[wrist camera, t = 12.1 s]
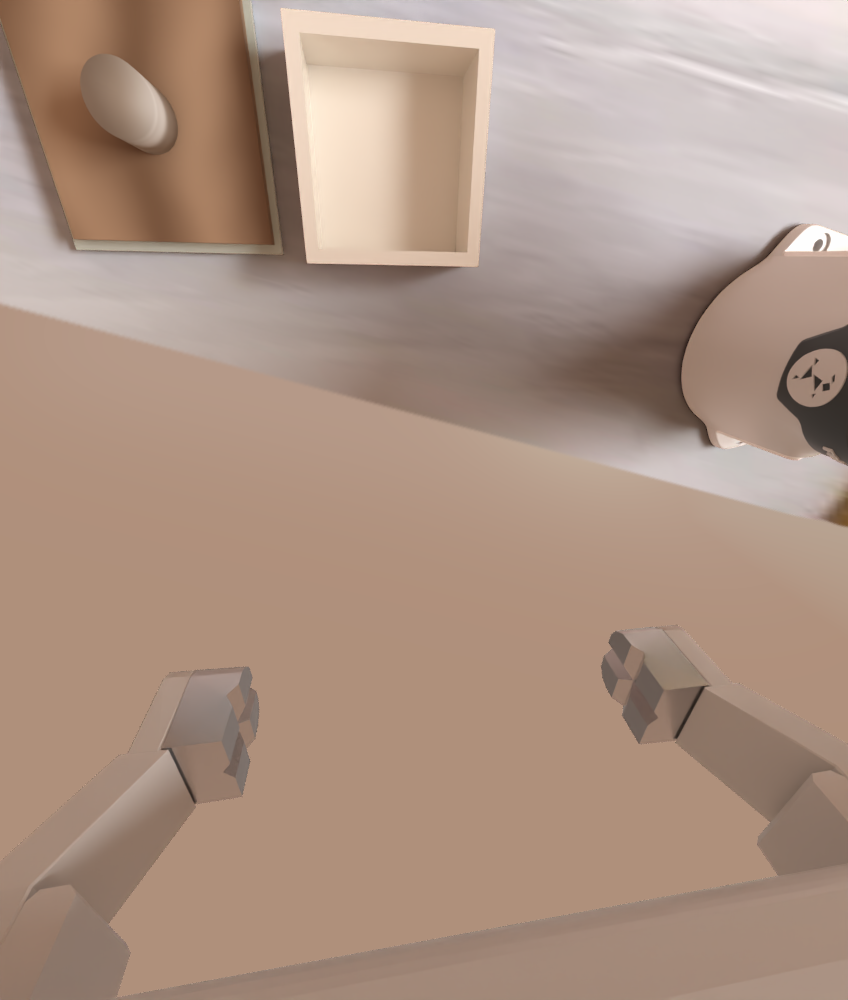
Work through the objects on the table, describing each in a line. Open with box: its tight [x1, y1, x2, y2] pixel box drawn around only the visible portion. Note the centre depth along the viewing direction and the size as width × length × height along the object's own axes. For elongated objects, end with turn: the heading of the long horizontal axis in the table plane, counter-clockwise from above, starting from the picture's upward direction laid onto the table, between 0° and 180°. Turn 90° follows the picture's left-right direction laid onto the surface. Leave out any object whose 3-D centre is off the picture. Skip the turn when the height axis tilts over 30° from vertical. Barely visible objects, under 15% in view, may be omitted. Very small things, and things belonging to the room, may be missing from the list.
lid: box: [0, 0, 275, 245], centre depth 23 cm, size 12×12×4 cm
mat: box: [0, 0, 284, 255], centre depth 25 cm, size 13×13×1 cm
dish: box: [280, 8, 495, 267], centre depth 26 cm, size 11×11×4 cm
